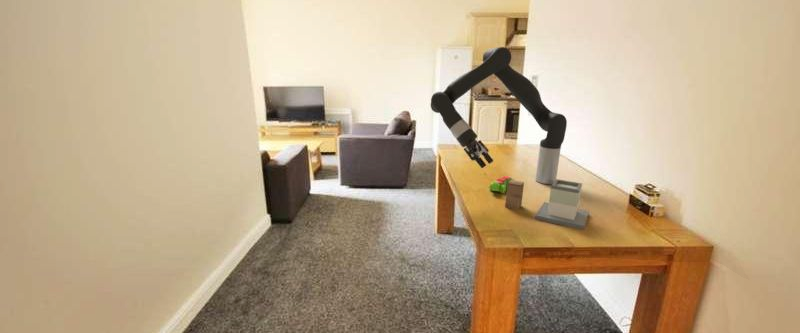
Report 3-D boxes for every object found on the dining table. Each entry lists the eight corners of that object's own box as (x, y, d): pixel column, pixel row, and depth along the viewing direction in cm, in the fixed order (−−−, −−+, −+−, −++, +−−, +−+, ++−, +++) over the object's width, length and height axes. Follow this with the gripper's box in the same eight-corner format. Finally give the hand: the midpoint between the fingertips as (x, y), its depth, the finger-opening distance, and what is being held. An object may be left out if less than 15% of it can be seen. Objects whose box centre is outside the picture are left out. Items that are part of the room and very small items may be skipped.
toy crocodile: (504, 183, 171) (505, 170, 169) (517, 186, 167) (519, 173, 165) (484, 193, 157) (485, 180, 155) (498, 197, 152) (500, 183, 151)
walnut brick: (508, 203, 145) (511, 179, 143) (521, 205, 143) (524, 182, 140) (505, 206, 141) (507, 182, 138) (517, 209, 139) (520, 185, 136)
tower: (543, 205, 143) (548, 175, 140) (588, 214, 135) (593, 182, 132) (534, 219, 130) (539, 186, 127) (583, 230, 122) (589, 195, 119)
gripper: (462, 129, 139) (489, 162, 136) (476, 125, 150) (500, 155, 148) (449, 141, 143) (474, 173, 140) (463, 136, 154) (487, 166, 152)
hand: (487, 164), depth 144 cm, fingers open, 8 cm apart
